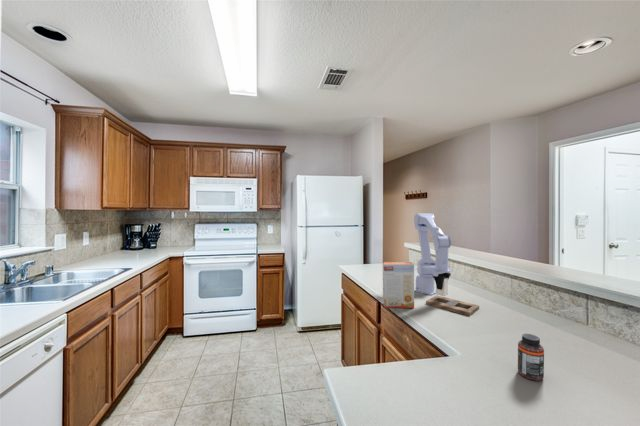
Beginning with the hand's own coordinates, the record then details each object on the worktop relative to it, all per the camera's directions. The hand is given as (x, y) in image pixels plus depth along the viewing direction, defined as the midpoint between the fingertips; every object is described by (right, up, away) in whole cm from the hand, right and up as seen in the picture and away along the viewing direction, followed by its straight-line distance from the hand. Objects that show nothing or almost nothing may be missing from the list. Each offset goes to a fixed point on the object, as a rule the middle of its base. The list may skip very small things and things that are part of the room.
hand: (441, 288), depth 135 cm
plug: (0, -3, 0) cm, 3 cm away
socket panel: (+3, -8, -3) cm, 9 cm away
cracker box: (-22, -8, -2) cm, 24 cm away
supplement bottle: (+1, -10, -56) cm, 57 cm away
